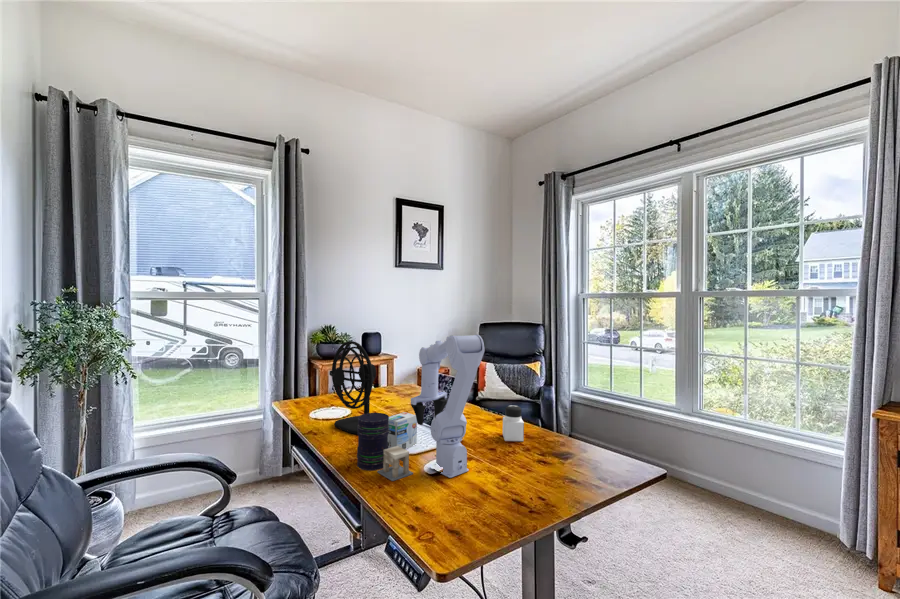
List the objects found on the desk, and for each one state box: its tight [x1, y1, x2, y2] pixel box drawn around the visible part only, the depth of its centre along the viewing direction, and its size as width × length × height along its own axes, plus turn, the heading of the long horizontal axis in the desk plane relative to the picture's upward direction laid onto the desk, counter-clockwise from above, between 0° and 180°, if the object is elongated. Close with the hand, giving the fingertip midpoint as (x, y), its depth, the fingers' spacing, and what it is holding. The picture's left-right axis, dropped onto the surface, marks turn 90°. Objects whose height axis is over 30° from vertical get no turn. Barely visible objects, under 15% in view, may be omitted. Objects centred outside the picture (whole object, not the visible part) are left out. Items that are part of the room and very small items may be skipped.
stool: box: [382, 446, 410, 478], centre depth 123 cm, size 6×5×6 cm
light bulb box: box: [388, 411, 418, 450], centre depth 145 cm, size 11×7×11 cm, turn 143°
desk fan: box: [329, 340, 377, 435], centre depth 166 cm, size 27×18×35 cm, turn 47°
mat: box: [376, 464, 414, 482], centre depth 123 cm, size 8×8×1 cm
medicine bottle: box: [502, 405, 525, 442], centre depth 156 cm, size 7×7×12 cm
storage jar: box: [356, 412, 390, 471], centre depth 130 cm, size 10×10×15 cm
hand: (428, 422), depth 140 cm, fingers open, 7 cm apart
